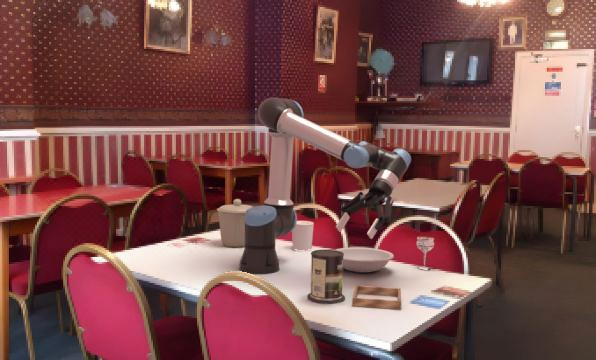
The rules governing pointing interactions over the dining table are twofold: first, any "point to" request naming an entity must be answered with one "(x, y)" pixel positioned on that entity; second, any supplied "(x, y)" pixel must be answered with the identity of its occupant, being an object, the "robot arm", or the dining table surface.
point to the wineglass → (425, 245)
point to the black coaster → (326, 301)
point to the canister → (233, 223)
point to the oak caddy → (377, 302)
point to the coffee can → (326, 275)
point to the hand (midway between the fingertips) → (353, 232)
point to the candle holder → (302, 235)
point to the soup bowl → (364, 259)
